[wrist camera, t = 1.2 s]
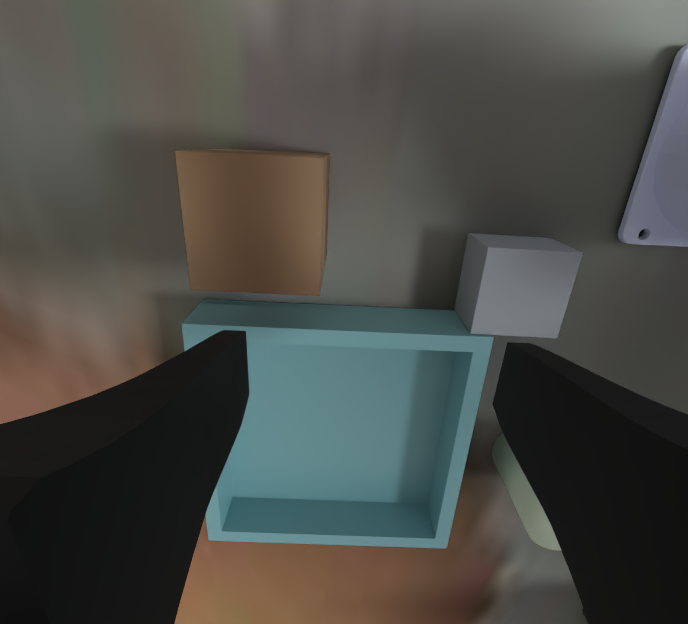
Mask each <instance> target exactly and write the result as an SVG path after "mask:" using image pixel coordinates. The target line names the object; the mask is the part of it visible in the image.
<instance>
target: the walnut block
mask: <svg viewBox="0 0 688 624" xmlns="http://www.w3.org/2000/svg"><path fill="white" fill-rule="evenodd" d="M175 157H176V166H177V174H178V183H179V192H180V201H181V210H182V219H183V228H184V236H185V245H186V254H187V263H188V272H189V281H190V289H191V290H205V291H226V292H248V293H270V294H292V295H314V296H320V290H321V284H322V278H323V272H324V266H325V260H326V253H327V227H328V195H329V164H330V154H328V153H309V152H290V151H271V150H252V149H232V148H223V149H198V150H175Z"/></svg>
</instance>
